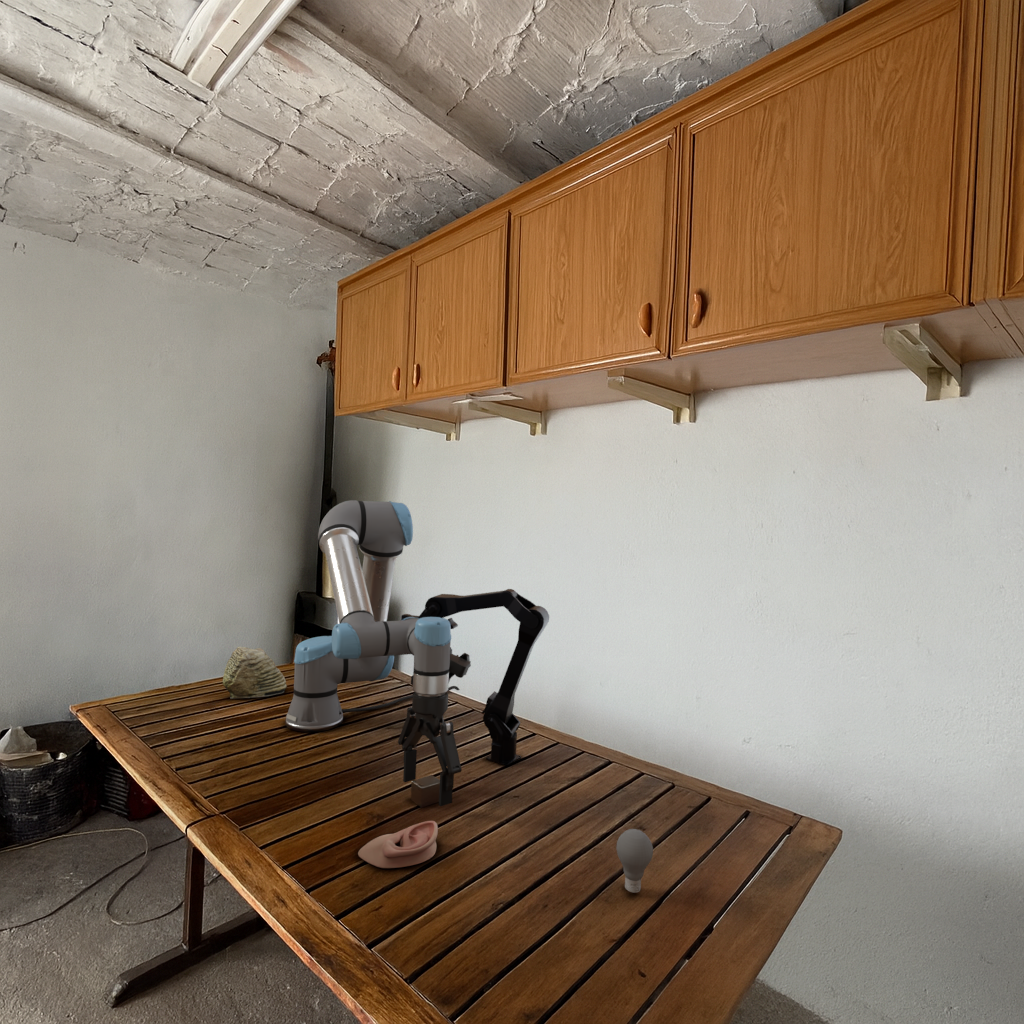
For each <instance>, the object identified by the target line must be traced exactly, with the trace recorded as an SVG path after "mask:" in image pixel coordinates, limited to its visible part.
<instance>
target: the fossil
mask: <svg viewBox="0 0 1024 1024" xmlns="http://www.w3.org/2000/svg"><path fill="white" fill-rule="evenodd" d="M222 676H223V677H222V685H223V687H224V688H225V690H226V691H228V693H229V698H230V699H250V698H264V697H271V696H275V695H281V694H284V693H285V691H286V689H287V687H288V686H287V680H286V678H285V676H284V674H283V673H282V672H281V669H279V668H278V667H277V665H276V663H275V662H274V660H273V659H272V658H271V657H270V656H269V655H268V654H267V653H266V652H265V650H264V649H263V648H260V647H258V648H251V647H247V646H246V647H245V646H238V647H237V648H236V649H235V650H233V651H232V653H231V656H230V657H229V659H228V660H227V663H226V666H225V668H224V671H223V675H222Z"/></svg>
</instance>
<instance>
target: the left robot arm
mask: <svg viewBox="0 0 1024 1024" xmlns="http://www.w3.org/2000/svg"><path fill="white" fill-rule="evenodd" d="M413 525H414V524H413V519H412V514H411V511H410V509H409V508H408V506H407V505H406V504H405V503H403V502H395V501H391V500H389V501H381V500H380V501H379V500H377V501H376V500H355V499H351V500H345V501H342V502H340V503H338V504H336V505H335V506H333V507H332V508H330V509H329V511H328V512H327V513H326V515H325V516H324V517H323V519H322V520H321V523H320V525H319V529H318V533H317V534H318V538H317V539H318V545H319V548H320V550H321V552H322V553H323V554H325V558H326V563H327V568H328V569H327V570H328V573H329V579H330V584H331V588H332V593H333V598H334V603H335V609H336V613H337V618H338V623H335V624H334V626H333V628H332V631H331V635H321V636H315V637H311V638H308V639H305V640H303V641H300V642H299V643H298V644H297V645H296V648H295V654H294V660H293V663H294V672H293V673H294V674H293V675H294V679H293V695H292V696H293V697H292V699H291V702H290V704H289V708H288V711H287V713H286V715H285V726H286V728H287V729H289V730H291V731H294V732H295V731H296V732H301V733H316V732H325V731H329V730H332V729H335V728H337V727H339V726H340V725H342V723H343V722H344V714H343V713H358V712H359V713H360V712H367V711H373V710H378V709H382V708H386V707H389V706H392V705H395V704H397V703H400V702H403V701H406V700H410V699H412V700H411V704H412V705H411V706H409V707H407V710H406V711H407V712H406V717H405V719H404V723H403V725H402V728H401V731H400V734H399V737H398V740H397V744H398V746H401V747H402V751H403V777H402V782H403V783H408V782H412V781H413V780H416V778H417V753H418V752H417V751H418V750H417V749H416V748H417V745H418V743H419V742H420V740H421V738H422V737H423V736H424V737H425V738H427V739H428V740H429V743H430V744H432V745H433V748H434V752H435V753H436V756H437V761H438V762H439V765H440V768H441V772H440V774H439V780H440V788H439V802H438V806H439V807H444V806H446V805H451V804H452V803H453V789H454V781H455V774H458V773H461V772H462V765H461V761H460V756H459V752H458V748H457V743H456V739H455V734H454V723H453V721H449V722H446V721H445V720H444V715H445V713H446V712H447V711H448V709H449V693H448V692H450V691H451V690H456V691H460V688H459V687H458V686H456V685H452V686H449V684H448V682H449V683H450V681H449V662H450V647H451V641H452V631H451V630H452V629H451V625H450V622H449V621H448V619H447V618H446V617H444V618H440V617H423V618H416V617H406V618H404V619H402V620H401V619H400V620H388V615H389V608H390V603H391V602H390V601H391V594H392V587H393V581H394V574H395V566H396V560H397V558H398V557H400V556H401V555H402V554H403V551H404V546H405V547H408V546H409V545H410V544H411V543H412V542H413V538H414V526H413ZM358 545H359V546H358ZM357 547H358V548H359V550H360V552H361V553H362V554H363V560H362V561H363V562H362V563H361V559H360V556H359V551H358V548H357ZM405 655H412V656H413V670H412V671H413V672H412V673H413V674H412V676H413V685H412V691H413V693H412V694H410V695H406V696H403V697H400V698H397V699H394V700H392V701H388V702H385V703H382V704H377V705H373V706H367V707H359V708H358V707H357V708H342V706H341V702H340V699H339V695H338V685H339V684H340V685H341V684H348V683H350V684H351V683H361V682H375V681H380V680H384V679H387V678H388V677H389V675H390V673H391V672H392V669H393V667H394V662H395V656H405Z"/></svg>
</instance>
